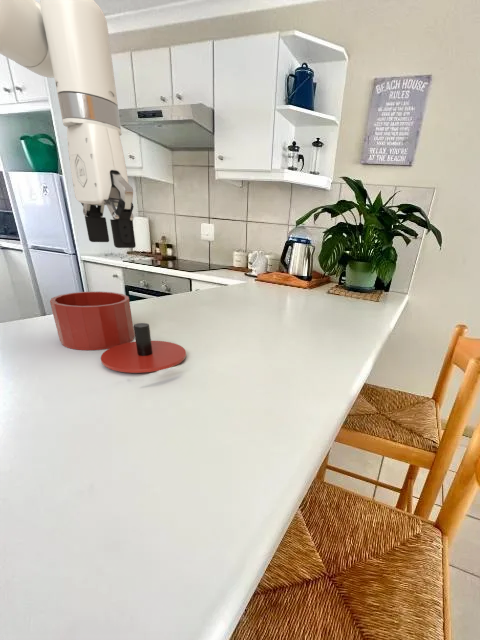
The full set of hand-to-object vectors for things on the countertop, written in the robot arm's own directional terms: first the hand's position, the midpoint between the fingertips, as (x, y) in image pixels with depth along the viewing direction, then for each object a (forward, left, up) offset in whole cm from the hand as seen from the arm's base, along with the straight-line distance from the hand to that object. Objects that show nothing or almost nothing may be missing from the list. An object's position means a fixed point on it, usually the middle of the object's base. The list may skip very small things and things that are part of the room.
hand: (111, 244), depth 55 cm
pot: (-11, -1, -20) cm, 22 cm away
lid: (+5, +1, -19) cm, 20 cm away
